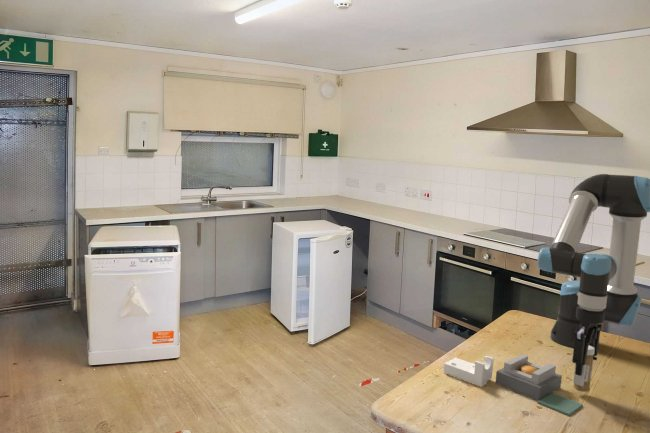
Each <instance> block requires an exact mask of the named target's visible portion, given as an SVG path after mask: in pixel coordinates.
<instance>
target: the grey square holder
mask: <svg viewBox="0 0 650 433" xmlns="http://www.w3.org/2000/svg"><path fill="white" fill-rule="evenodd" d="M525 365H527V366H533V367H535V368H537V369H538V370H536V371H534V372H533V373H532V375H529V374H526V373H524V372H521V367H522V366H525ZM556 369H557V366H556V365H555V364H552V363H548V364H547V365H544V366H541V365H539V364H535V363H534V362H530V361H529V356H528V355H526V354H523V353H522V354H519V355H518V356H515V357H513V358H511V359H509V360H506V361H504V364H503V367H502V368H500V369H498V370H496V375H495V385H498V386H501V387H503V388H506V389H508V390H510V391H513V392H515V393H518V394H521V395H523V396H525V397H527V398H530V399H532V400H535V401H537V402H538V401H539V400H541V399H543V398H544V397H546V396H548V395H549V394H551V393H555V392H556V391H558V390H560V389H561V386H562V378H563V377H562V376H563V375H562V374H559V373H557V372H556Z"/></svg>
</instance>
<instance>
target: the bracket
mask: <svg viewBox="0 0 650 433" xmlns="http://www.w3.org/2000/svg"><path fill="white" fill-rule="evenodd" d="M493 368H494V357H492V356H489V355H485V356H484V357H483V360H482V362H481V361H479V360H476V361H475V363H473V362H469V361H466V360H464V359H460V358H459V357H453V358H452V359H450V360H448V361H446V362H444V363H443V374H444V373H446V374H445V375H447V374H449V375H448V376H450V375H451V376H450V377H452V376H454V377H453V378H455V377H457V378H456V379H458V378H459V379H458V380H461V379H462V380H461V381H463V380H464V381H463V382H466V381H467V382H466V383H469V384H471V383H472V385H474V384H475V386H477V387H481V388H482V387H484V386H485V385H486V384H487V383H488V381H489V380H491V379H492V378H493V370H494V369H493Z"/></svg>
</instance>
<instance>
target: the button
mask: <svg viewBox="0 0 650 433" xmlns="http://www.w3.org/2000/svg"><path fill="white" fill-rule="evenodd" d="M536 370H538V369H537V368H535V367H533V366H527V365H525V366H522V367H521V372H524V373H526V374H529V375H532V373H533V372H534V371H536Z"/></svg>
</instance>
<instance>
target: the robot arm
mask: <svg viewBox="0 0 650 433" xmlns="http://www.w3.org/2000/svg"><path fill="white" fill-rule="evenodd" d="M568 203H569V204H568V207H567V210H566V212H565V214H564V217H563V218H562V221H561V223H560V225H559V228H558V230H557V232H556V234H555V236H554V239H553V241H552V244H551V246H550V247H549V246H547V247H542V248H541V249H539V252H538V255H537V266H538V268H539V269H540V270H541V271H543V272H549V273H553V274H558V275H564V276H565V275H567V276H571V277H576V278H579V280H567V281H565V282H563V283H562V284H561V287H560V292H559V301H558V310H557V319H556V320H555V323H554V325H553V326H552V329H551V331H550V339H551V340H552V341H553V342H554V343H556V344H559V345H563V346H567V347H570V348H573V351H572V361H571V362H572V363H573V364H575V366H574V372H573V373H574V374H573V385H574V384H577V385H580V386H584V378H585V370H586V365H585V360H586V355H587V351H588V346H589V345H591V346H593V347H594V348H595V352H594V356H593V361H597V360H598V357H597V356H598V351H599V350H598V349H599V343H600V337H601V335H600V334H601V331H602V330H601V329H602V328H603V327H602V326H603V325H602V324H603V323H604V322H606V323H610V324H615V325H617V326H623V327H624V326H625V327H631V326H632V325H634V324H635V321H636V319H637V316H638V313H639V310H640V306H641V303H642V298H643V296H642V295H640V294H638V288H637V287H636V286H635V284H634V282H635V276H636V275H635V274H636V267H637V266H636V265H637V258H638V251H639V250H638V249H639V242H640V234H641V232H640V231H641V224H642V223H641V222H642V221H643V220H644V219H645V218H647V216H648V213H650V178H649V177H646V176H645V177H644V176H639V175H626V174H625V175H623V174H609V173H599V174H594V175H592V176H589V177H587V178H585V179H584V180H583V181H581V182H580V183H579V184H578V185H576V186H575V187H574V189H573V190H572V191H571V192H570V195H569V198H568ZM598 207H601V208H608V209H609V211H608V214H609V215H610V216H611V217H612V224H611V225H612V227H611V236H610V246H609V254H605V253H604V254H603V253H600V254H599V253H584V252H577V250H578V247H579V245H580V242H581V240H582V237H583V235H584V233H585V230H586V227H587V225H588V224H589V220H590V218H591V216H592V213H593V212H595V211H596V210H597V209H598ZM593 365H594V362H593V363H592V368H593ZM592 375H593V373H592V374H591V376H592Z"/></svg>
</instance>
